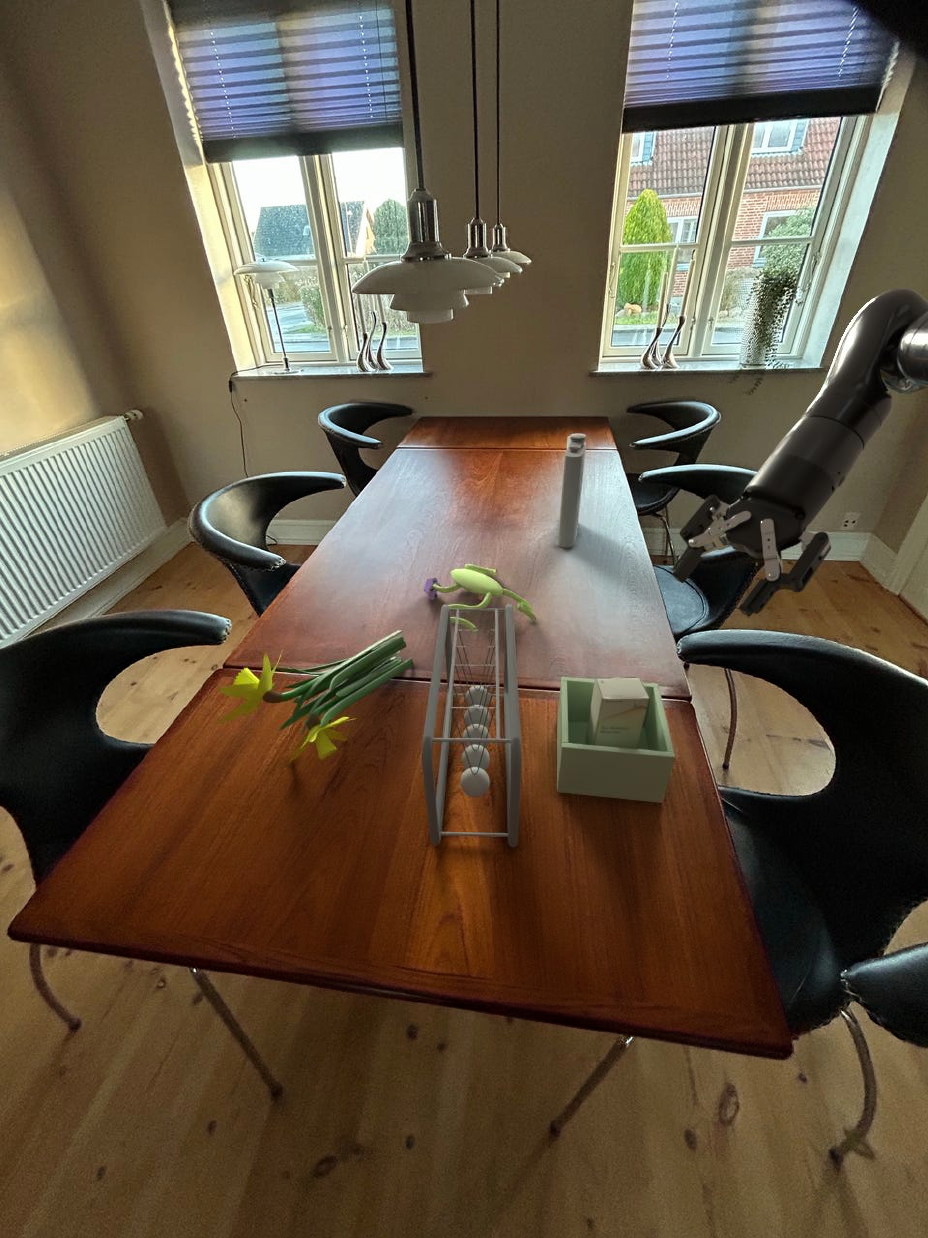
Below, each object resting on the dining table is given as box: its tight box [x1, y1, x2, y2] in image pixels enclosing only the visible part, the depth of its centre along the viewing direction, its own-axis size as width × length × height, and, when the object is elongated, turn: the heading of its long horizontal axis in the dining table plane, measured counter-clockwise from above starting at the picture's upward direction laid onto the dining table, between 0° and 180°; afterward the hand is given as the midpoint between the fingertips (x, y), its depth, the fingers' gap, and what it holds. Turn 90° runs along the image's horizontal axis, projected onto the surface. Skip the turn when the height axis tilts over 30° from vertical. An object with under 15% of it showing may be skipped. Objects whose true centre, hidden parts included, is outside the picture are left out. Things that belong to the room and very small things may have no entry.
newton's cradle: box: [421, 603, 523, 848], centre depth 71 cm, size 30×10×18 cm, turn 178°
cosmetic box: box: [585, 676, 649, 749], centre depth 72 cm, size 6×4×12 cm
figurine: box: [423, 563, 537, 633], centre depth 109 cm, size 18×27×6 cm
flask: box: [556, 433, 587, 548], centre depth 131 cm, size 17×5×25 cm, turn 168°
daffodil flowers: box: [215, 629, 415, 771], centre depth 80 cm, size 17×15×35 cm
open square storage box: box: [556, 676, 676, 804], centre depth 73 cm, size 14×14×9 cm
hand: (709, 595), depth 59 cm, fingers open, 8 cm apart
